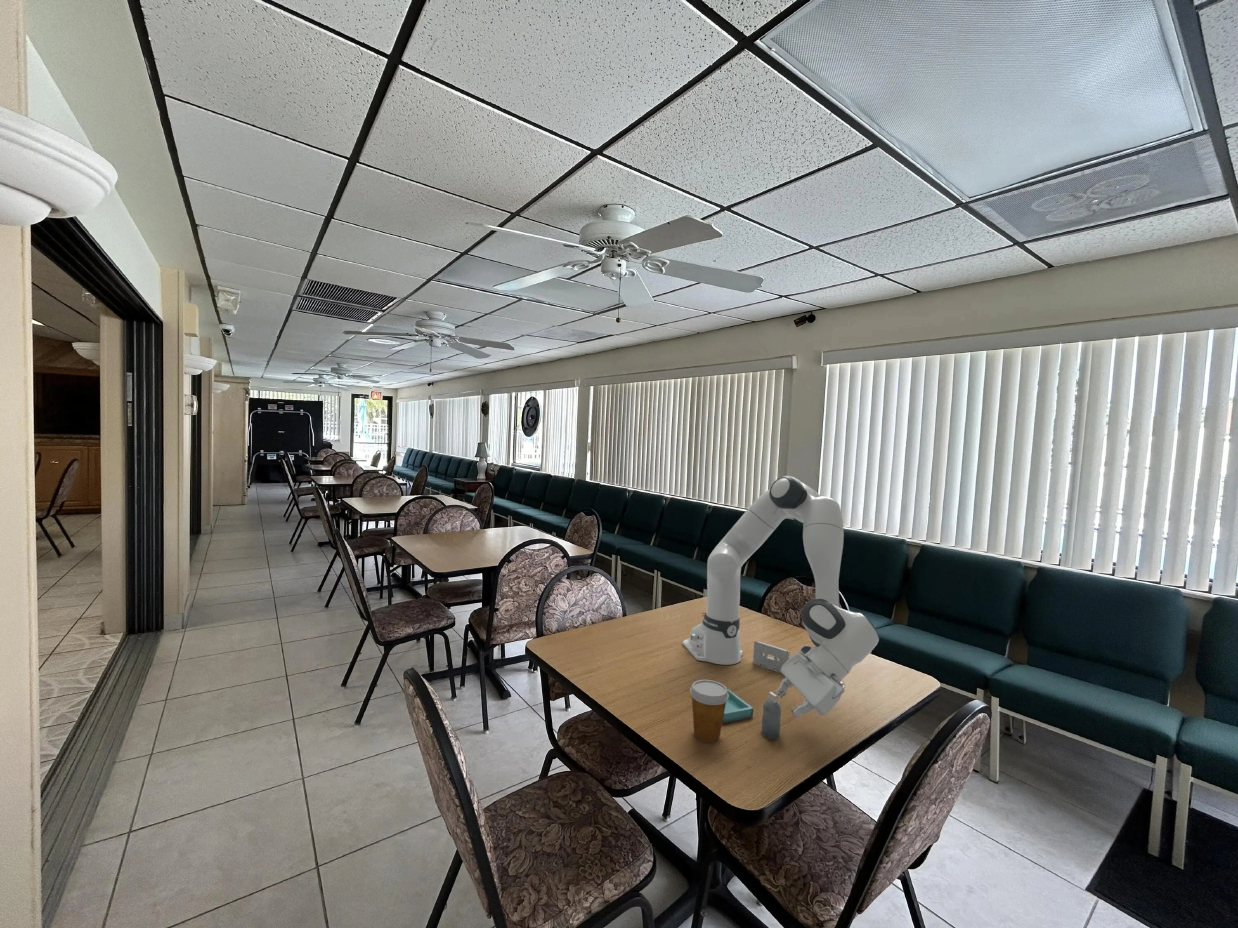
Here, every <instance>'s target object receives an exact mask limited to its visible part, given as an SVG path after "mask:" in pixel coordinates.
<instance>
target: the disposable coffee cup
mask: <svg viewBox="0 0 1238 928" xmlns="http://www.w3.org/2000/svg"><path fill="white" fill-rule="evenodd" d="M727 689H728V687H726V686H725V685H724V684H723V683H721V682H719V681H715V680H713V679H712V680H710V679H700V680H696V681H694V682H693V683H692V685H691V687H690V688H689V693H690V697H691V704H692V705H691V706H692V723H693V734H694V737H695V738H697V739H698V740H699V741H702V742H705V743H715V742H717V741H719V740H720V737H721V732H722V727H723V726H722V725H723V723H722V721H723V716H724V711H725V706H726V701H727V700H728V698H729V694H728V692H727Z"/></svg>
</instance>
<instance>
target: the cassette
mask: <svg viewBox="0 0 1238 928" xmlns="http://www.w3.org/2000/svg"><path fill="white" fill-rule="evenodd" d="M752 655H753V656H752V664H754V665H757V666H758V667H761V668H764V669H767V670H770V671H774V672H776V673H779V674H783V673H782V672H781V668H782V666H783V665H784V664H785V662H786V661H787V660H789V659H790V651H789V650H788V649H784V648H781V647H778V646H775V645H771V644H768V643H764V642H761V641H758V640H755V641H754V642H753V654H752ZM768 655H770V656H768ZM771 656H773V657H771Z"/></svg>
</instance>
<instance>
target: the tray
mask: <svg viewBox="0 0 1238 928" xmlns="http://www.w3.org/2000/svg"><path fill="white" fill-rule="evenodd" d="M727 692H728V694H729V698H728V700H727V701H726V706H725V711H724V716H723V721H722V724H726V723H731V722H735V721H740V720H745V719H748V718H749V719H751V718H753V716H754V707H752V706H751V705H750V704H749V703H748V702H746V701H745V700H743V699H742V698H741V697H739V695H737V694H735V693H734V692H733V691H731V690H730V689H729V688H727Z"/></svg>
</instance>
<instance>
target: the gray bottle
mask: <svg viewBox="0 0 1238 928" xmlns="http://www.w3.org/2000/svg"><path fill="white" fill-rule="evenodd" d="M777 699H778V694H776V693H774V692H773V691H769V692H768V699H767V700H765V701H764V703H763V705H762V717H761V735H762V736H763V737H765V738H767V739H769V740H770V739H771V740H777V739H779V738H780V735H781V734H780V733H781V721H782V720H781V719H782V706H781V704H780V703H779V701H778V700H777Z"/></svg>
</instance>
